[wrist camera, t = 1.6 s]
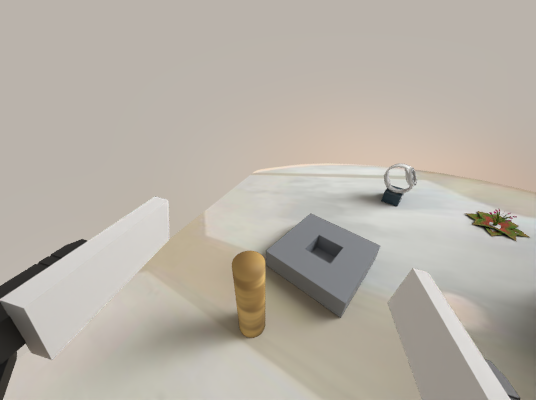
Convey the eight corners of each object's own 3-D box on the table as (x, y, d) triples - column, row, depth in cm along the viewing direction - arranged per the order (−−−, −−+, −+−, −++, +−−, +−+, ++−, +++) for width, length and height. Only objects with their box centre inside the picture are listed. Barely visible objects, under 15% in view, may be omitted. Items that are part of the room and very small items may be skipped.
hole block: (308, 226, 53) (310, 213, 51) (374, 259, 45) (380, 245, 42) (265, 264, 43) (266, 250, 41) (340, 317, 34) (345, 303, 32)
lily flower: (497, 213, 60) (508, 199, 57) (542, 244, 50) (557, 229, 47) (453, 211, 60) (462, 197, 57) (488, 242, 50) (500, 227, 47)
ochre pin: (252, 306, 36) (248, 246, 28) (270, 322, 34) (272, 262, 26) (233, 325, 33) (224, 264, 26) (252, 343, 31) (248, 283, 23)
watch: (404, 209, 60) (420, 173, 54) (375, 198, 64) (386, 164, 58) (409, 200, 64) (424, 166, 58) (380, 191, 68) (391, 158, 62)
